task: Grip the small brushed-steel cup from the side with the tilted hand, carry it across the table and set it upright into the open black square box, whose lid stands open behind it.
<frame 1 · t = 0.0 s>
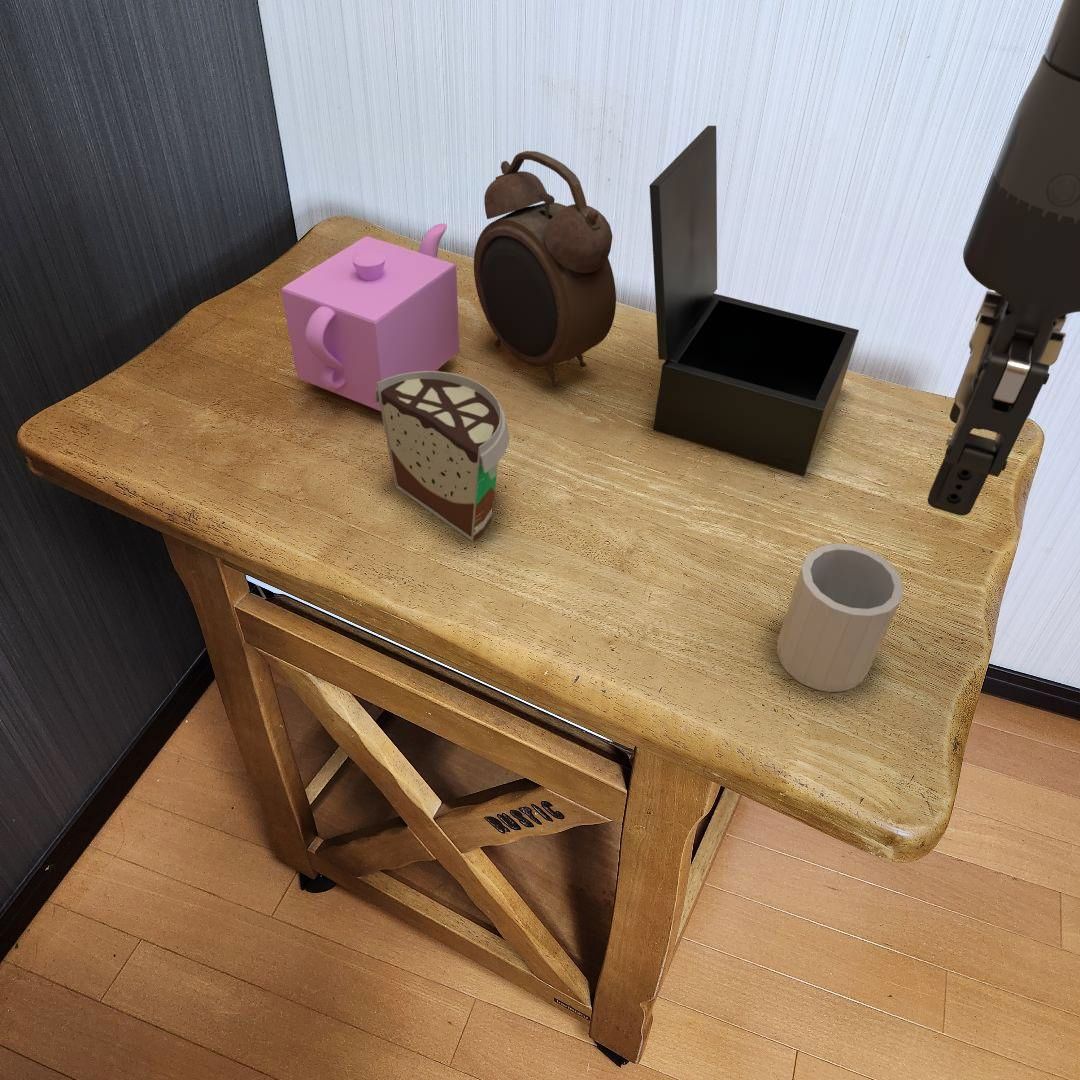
hand: (957, 462, 52), 18 cm above the table, tool pointing down, fingers open, 8 cm apart
alarm clock: (538, 364, 90), on the table
teapot: (391, 372, 89), on the table
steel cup: (822, 655, 64), on the table
food container: (460, 498, 76), on the table
black square box: (748, 411, 85), on the table
black box lid: (687, 243, 77), point 15 cm above the table, hinge at 100.0°
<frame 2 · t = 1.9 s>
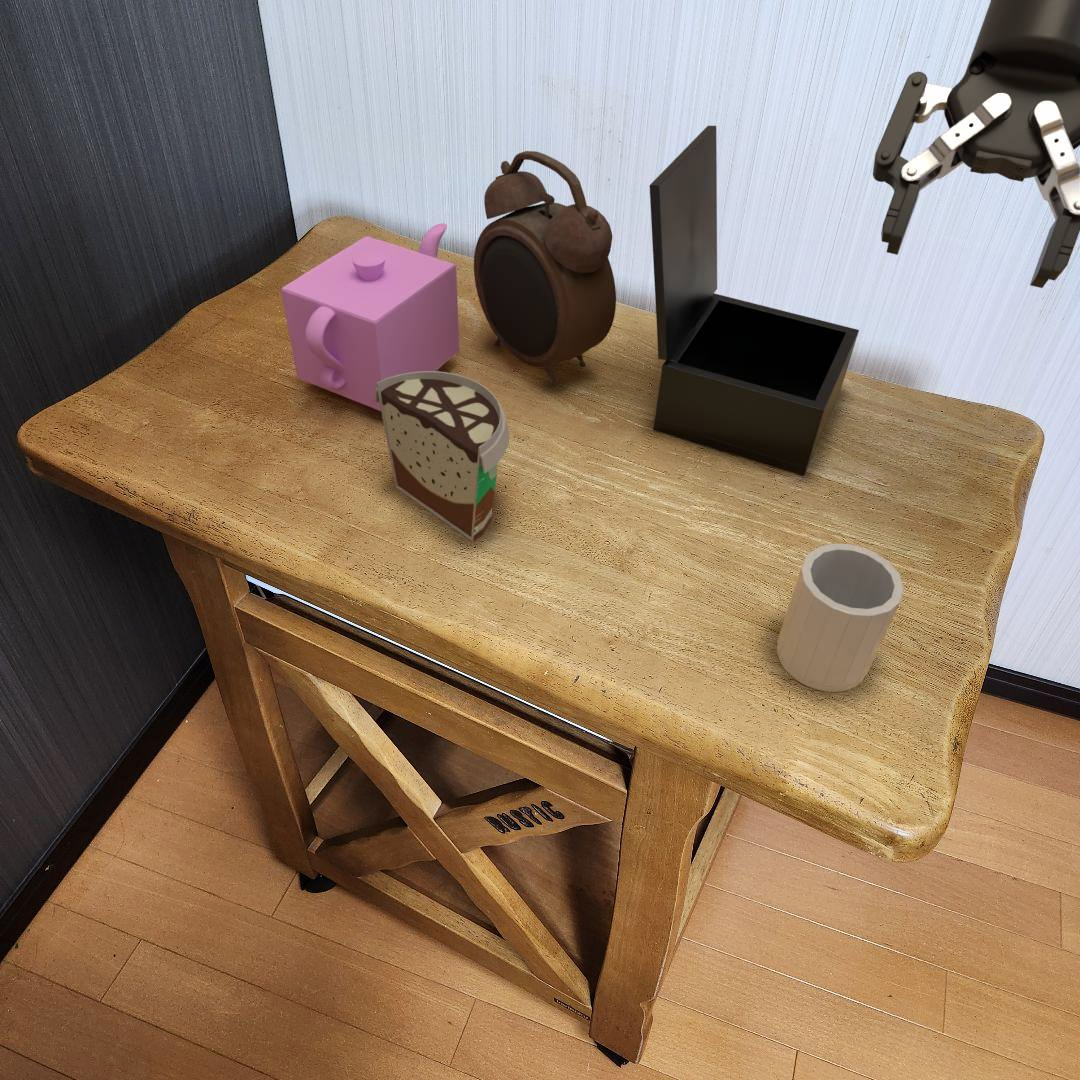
hand: (964, 265, 55), 25 cm above the table, tool tilted 45°, fingers open, 8 cm apart
nothing on the table moved.
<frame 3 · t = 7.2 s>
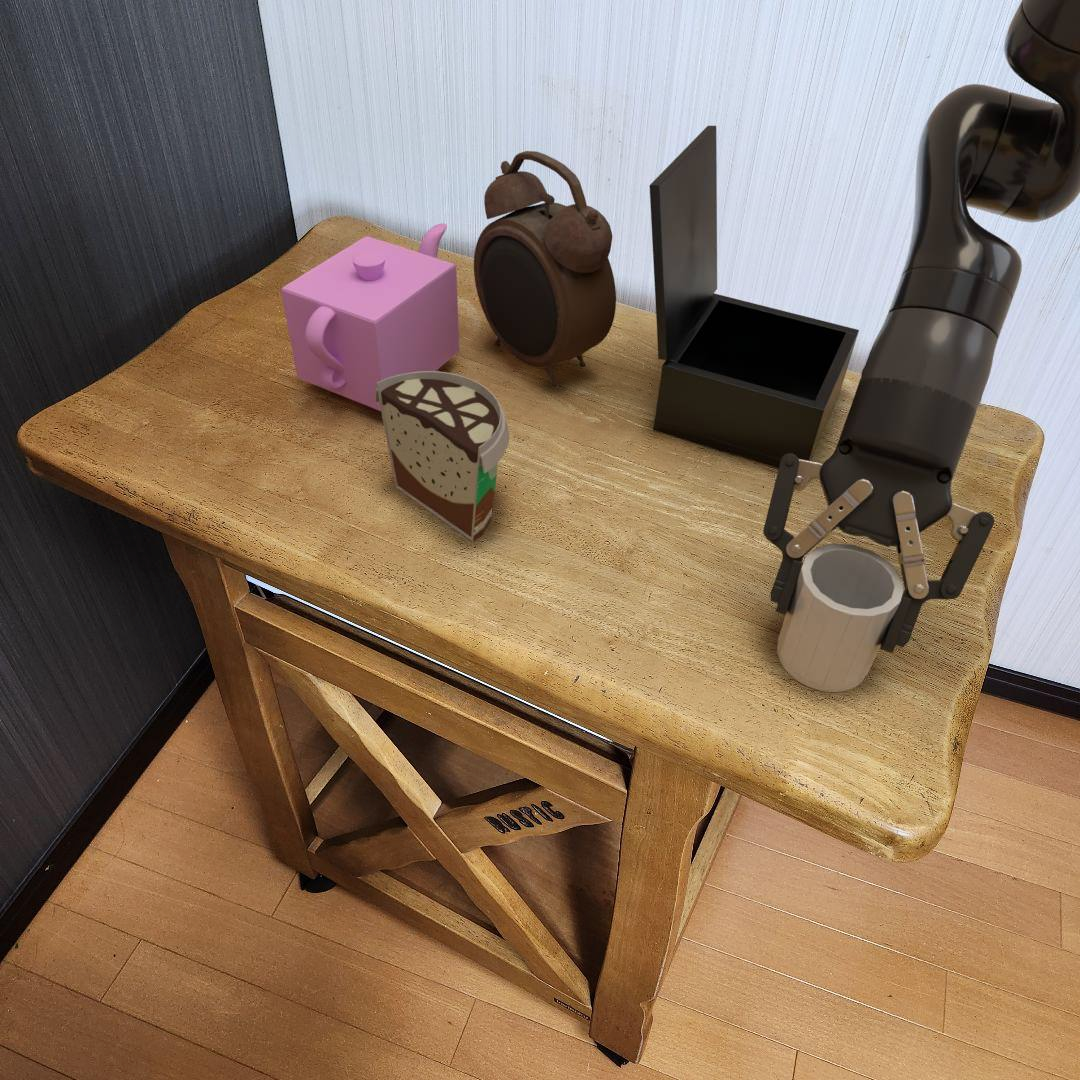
hand: (832, 631, 60), 4 cm above the table, tool tilted 45°, fingers closed on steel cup, 6 cm apart
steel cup: (822, 655, 64), on the table, touching gripper
everything else where it was.
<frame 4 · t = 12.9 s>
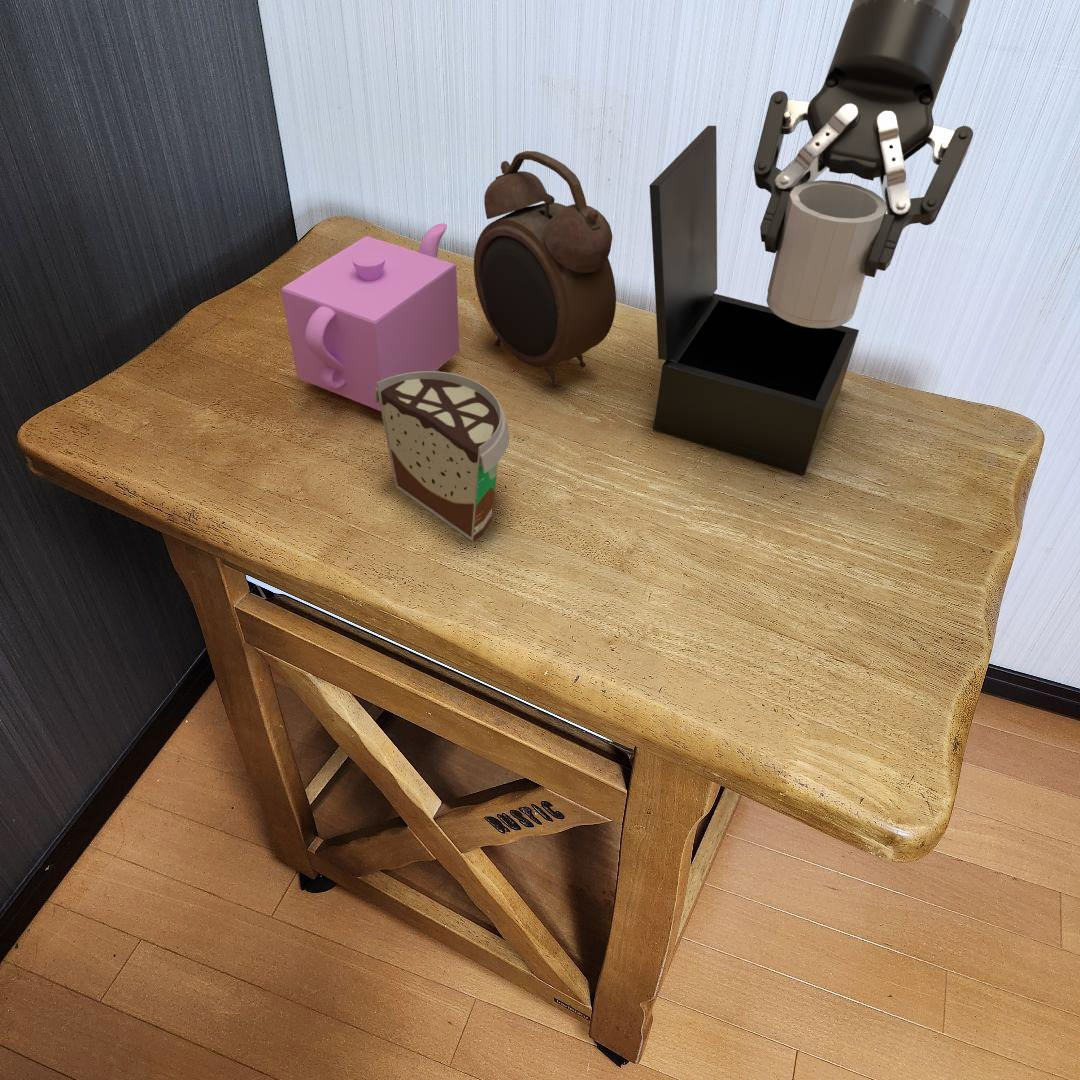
hand: (819, 260, 63), 21 cm above the table, tool tilted 45°, fingers closed on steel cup, 6 cm apart
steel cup: (810, 305, 67), point 16 cm above the table, touching gripper
everything else where it was.
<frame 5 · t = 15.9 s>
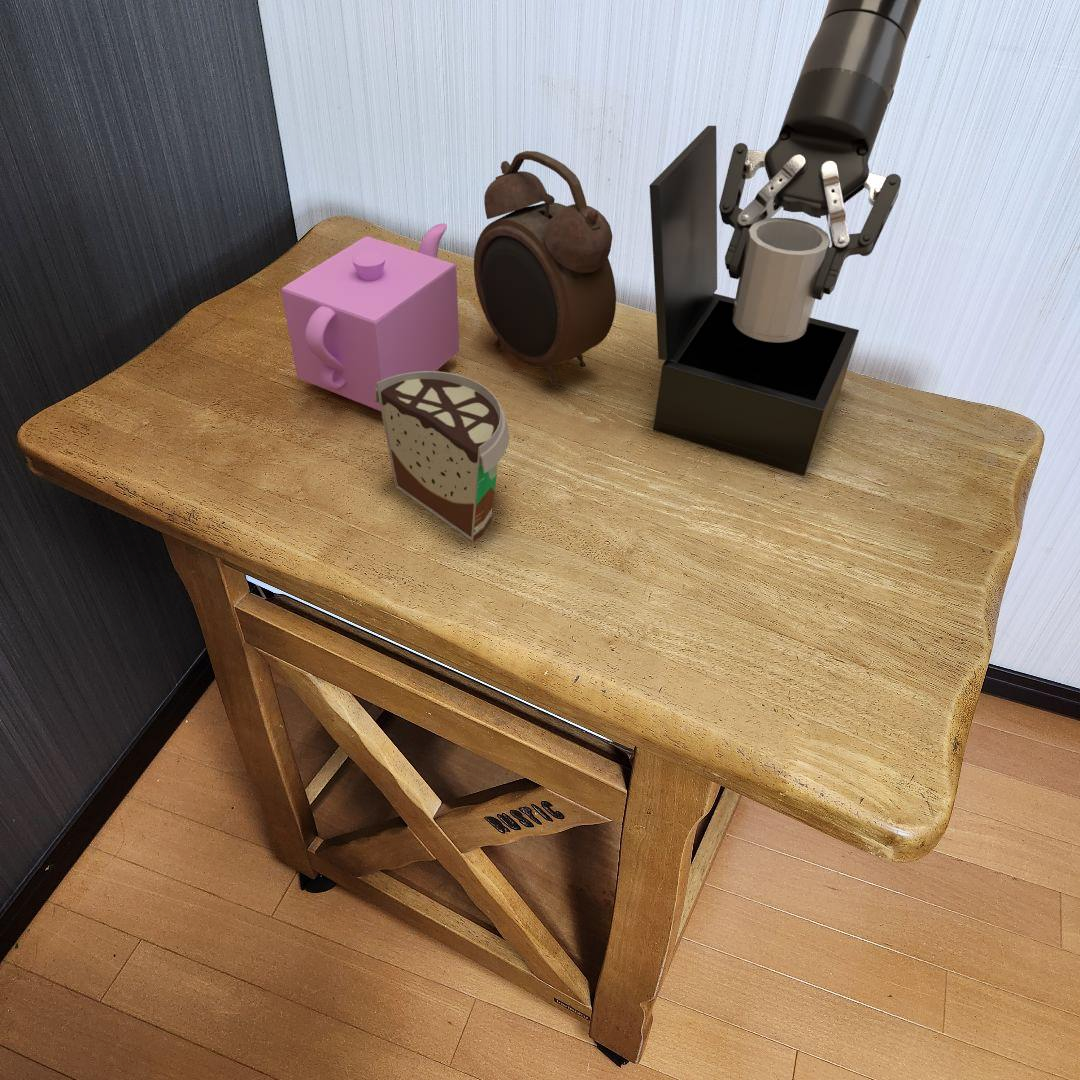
hand: (774, 285, 75), 14 cm above the table, tool tilted 45°, fingers closed on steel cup, 6 cm apart
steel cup: (769, 322, 79), point 9 cm above the table, touching gripper
everything else where it was.
when the fingers open (5 cm above the table, at t = 18.8 s): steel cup stays where it is, resting on black square box.
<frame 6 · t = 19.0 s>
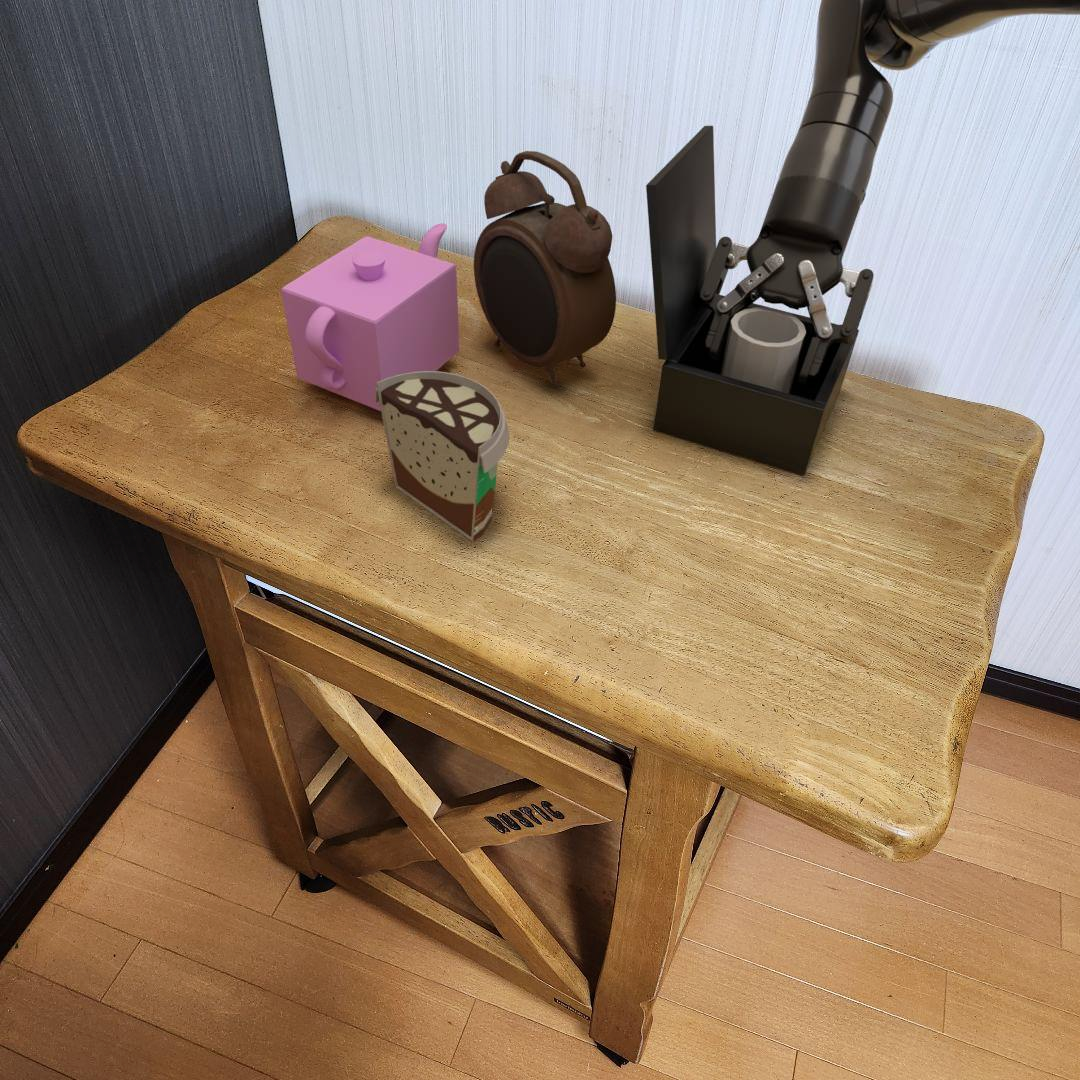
hand: (757, 369, 80), 6 cm above the table, tool tilted 45°, fingers open, 7 cm apart
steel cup: (750, 401, 85), point 1 cm above the table, touching black square box
black box lid: (685, 242, 78), point 15 cm above the table, hinge at 101.1°, touching hand
everything else where it was.
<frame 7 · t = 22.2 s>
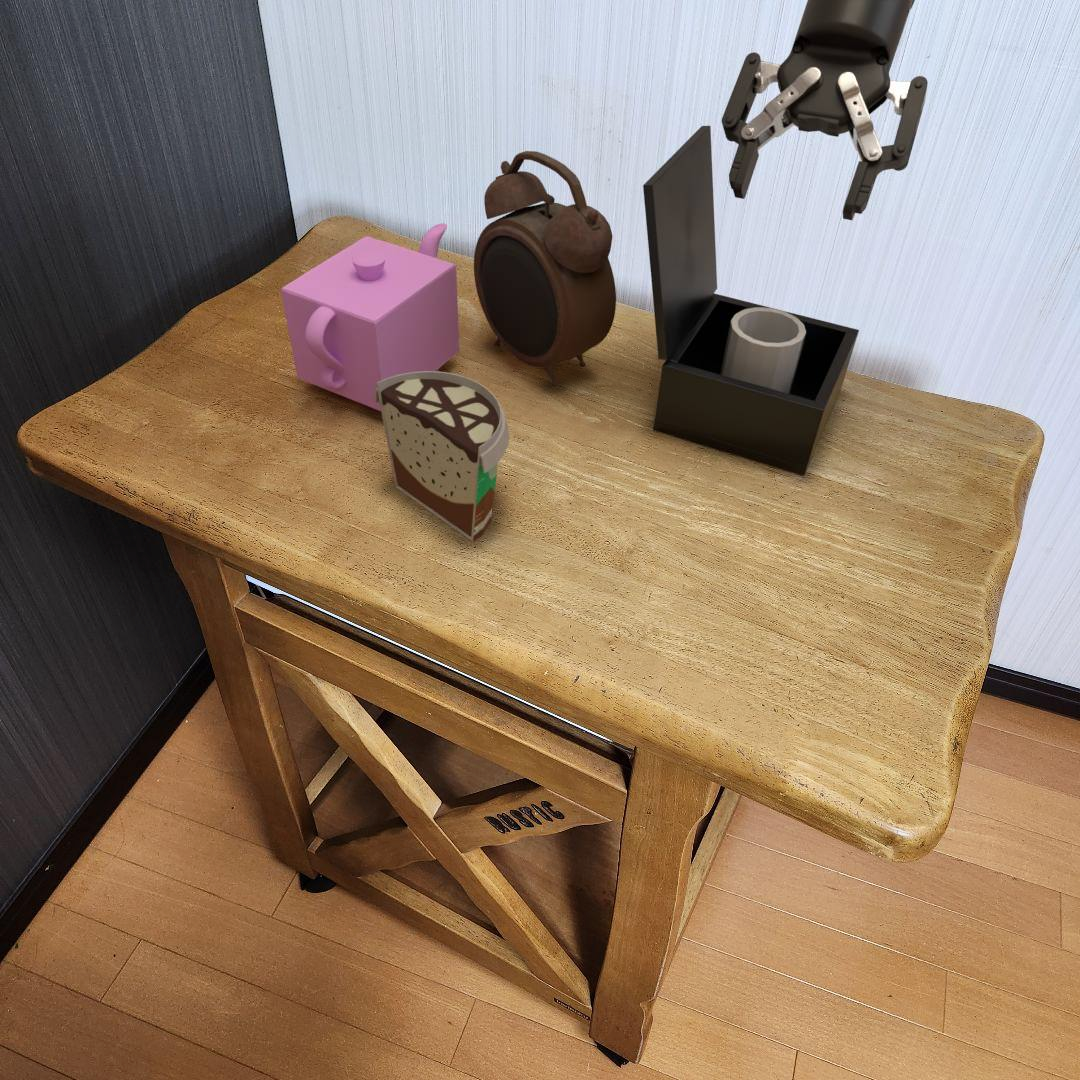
hand: (792, 205, 70), 21 cm above the table, tool tilted 45°, fingers open, 8 cm apart
black box lid: (684, 242, 78), point 15 cm above the table, hinge at 102.0°
everything else where it was.
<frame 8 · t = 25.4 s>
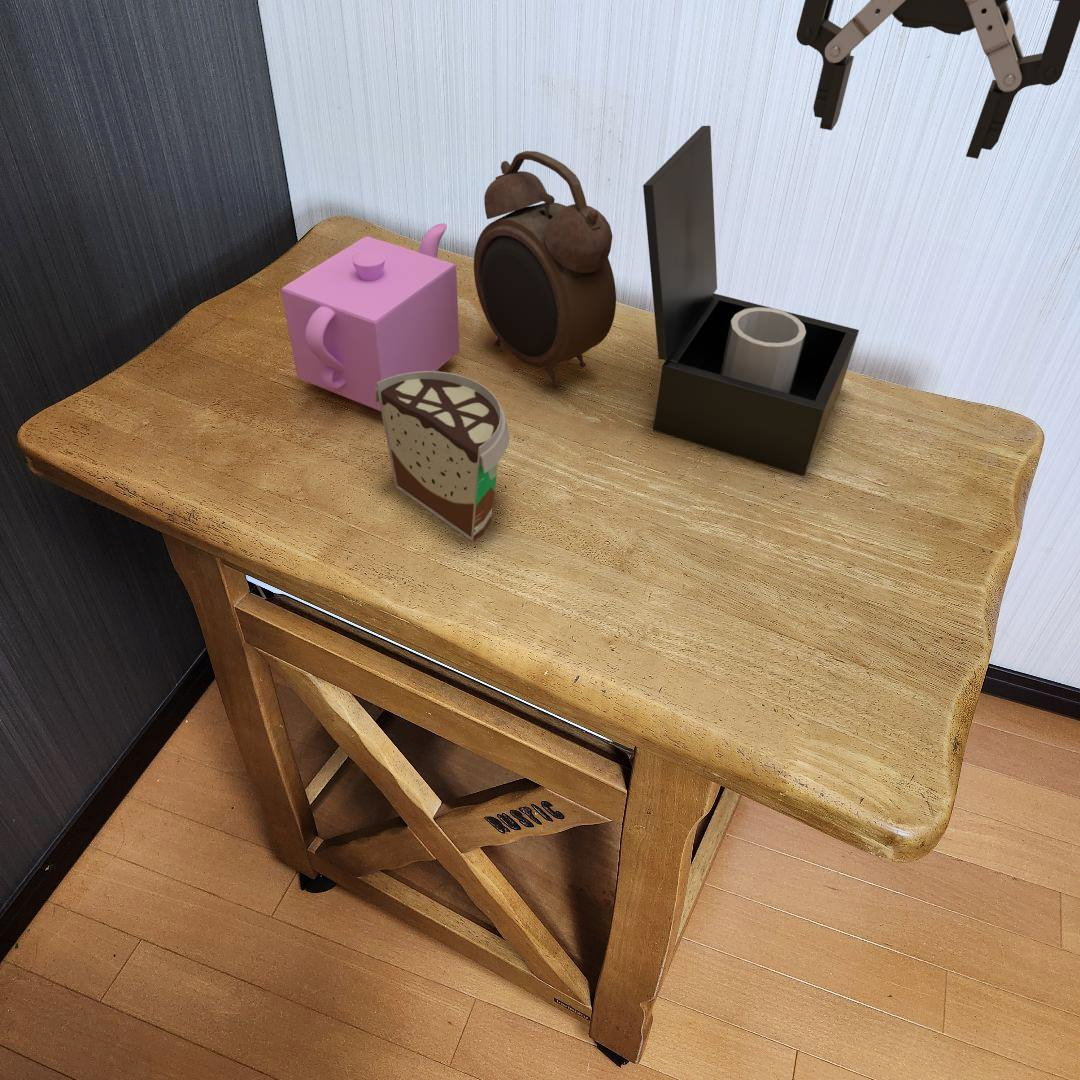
hand: (899, 139, 54), 30 cm above the table, tool pointing down, fingers open, 8 cm apart
nothing on the table moved.
at the end: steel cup inside the target area in the black square box (0.1 cm from its centre), point 1.0 cm above the black square box's base; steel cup tilted 0°; the gripper is holding nothing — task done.
